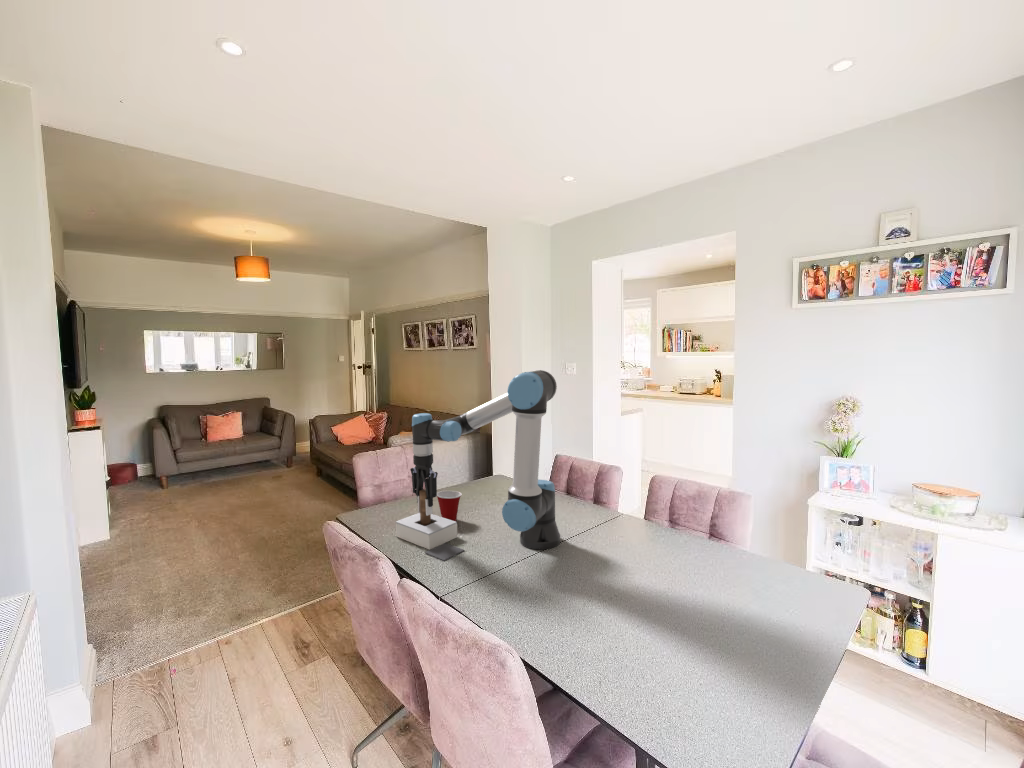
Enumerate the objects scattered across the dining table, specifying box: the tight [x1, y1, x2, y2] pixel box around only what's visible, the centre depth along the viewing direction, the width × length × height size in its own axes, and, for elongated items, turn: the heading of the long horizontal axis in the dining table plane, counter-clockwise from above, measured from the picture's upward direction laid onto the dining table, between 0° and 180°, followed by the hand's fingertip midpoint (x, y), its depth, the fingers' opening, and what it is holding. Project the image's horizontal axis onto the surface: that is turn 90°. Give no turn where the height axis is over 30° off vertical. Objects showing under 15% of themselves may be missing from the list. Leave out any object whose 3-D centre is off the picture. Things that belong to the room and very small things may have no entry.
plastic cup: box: [436, 490, 463, 522], centre depth 198 cm, size 11×11×12 cm
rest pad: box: [424, 542, 466, 562], centre depth 169 cm, size 10×10×1 cm
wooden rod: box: [419, 488, 431, 526], centre depth 182 cm, size 4×4×15 cm
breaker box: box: [394, 512, 458, 551], centre depth 182 cm, size 20×14×6 cm
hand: (425, 512), depth 182 cm, fingers closed on wooden rod, 4 cm apart
